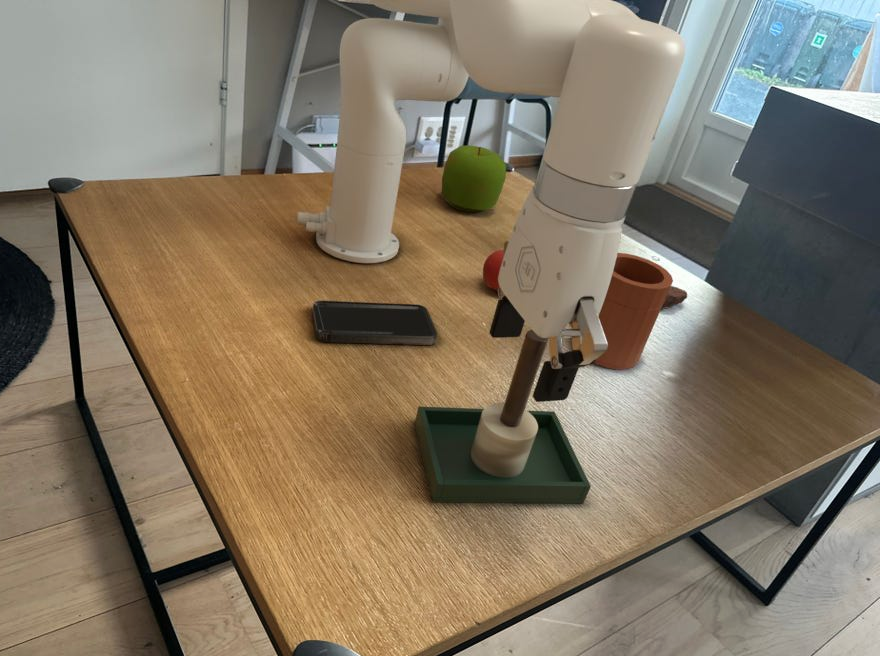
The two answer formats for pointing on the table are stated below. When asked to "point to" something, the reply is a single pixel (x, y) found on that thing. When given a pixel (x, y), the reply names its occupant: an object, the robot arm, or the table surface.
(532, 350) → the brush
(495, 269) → the kendama
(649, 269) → the jar
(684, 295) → the stone
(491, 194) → the apple
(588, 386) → the table surface
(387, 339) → the phone
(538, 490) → the tray
